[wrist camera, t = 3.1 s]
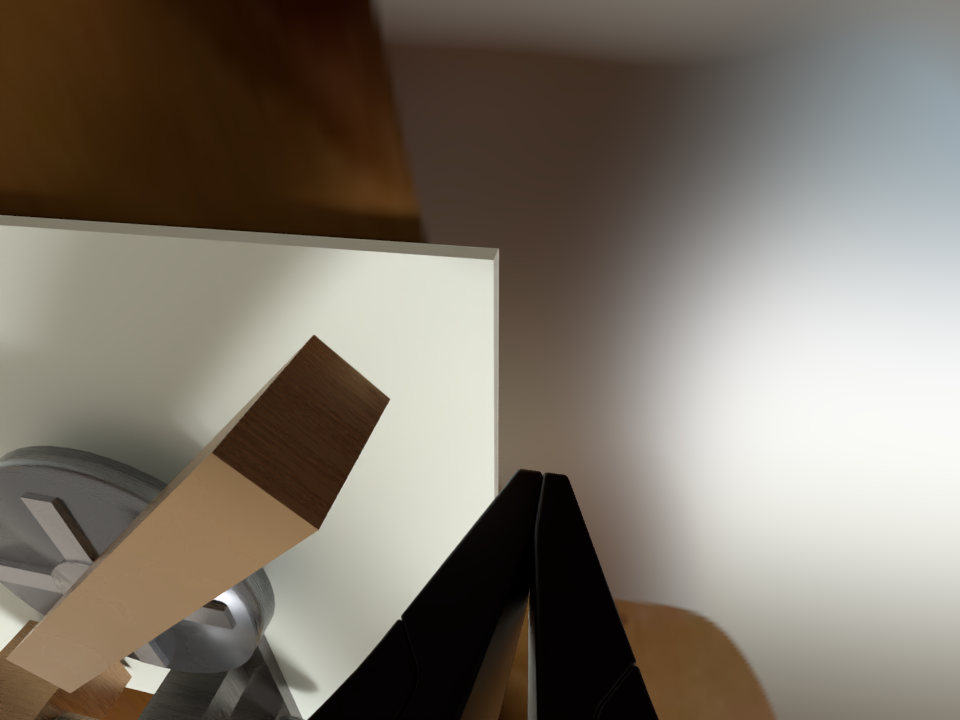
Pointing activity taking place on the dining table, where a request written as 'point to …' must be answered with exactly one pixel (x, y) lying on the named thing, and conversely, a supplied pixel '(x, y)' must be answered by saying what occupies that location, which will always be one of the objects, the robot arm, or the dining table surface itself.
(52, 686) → the wooden mallet
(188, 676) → the iron eye
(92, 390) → the white board
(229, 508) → the handwheel
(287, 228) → the dining table surface
